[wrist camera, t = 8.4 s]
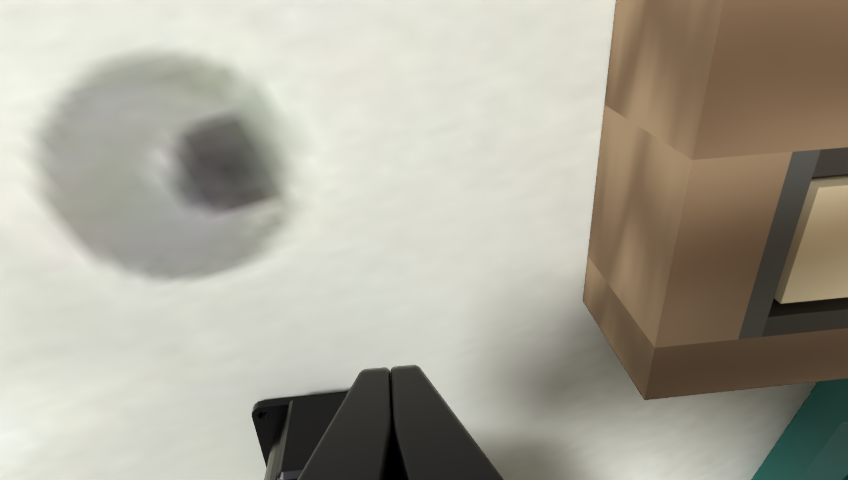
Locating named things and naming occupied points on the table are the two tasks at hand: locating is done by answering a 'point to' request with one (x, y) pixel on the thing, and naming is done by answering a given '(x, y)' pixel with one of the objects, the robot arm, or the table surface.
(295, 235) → the table surface
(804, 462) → the bracket
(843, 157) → the band block
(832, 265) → the peg
